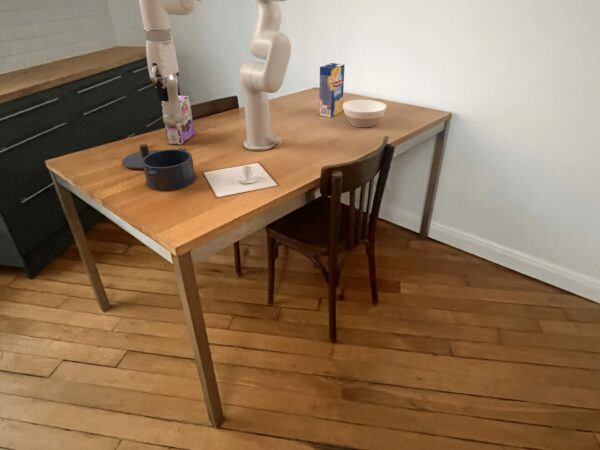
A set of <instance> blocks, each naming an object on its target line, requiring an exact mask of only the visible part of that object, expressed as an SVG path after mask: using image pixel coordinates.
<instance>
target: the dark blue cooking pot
mask: <svg viewBox="0 0 600 450" xmlns="http://www.w3.org/2000/svg"><path fill="white" fill-rule="evenodd" d="M193 160H194V159H193V155H192V153H191V152H189V151H188V150H187V149H186V148H178V149H176V148H172V149H171V148H170V149H162V150H161V151H157V152H154V153H151V154H149V155H147V156H146V157H144V158H143V160H142V164H143V168H144V169H143V173H144V177H145V181H146V185H147V187H148V188H150V189H152V190H154V191H157V192H172V191H177V190H180V189H185V188H186V187H189V186H190V185H192V184H193V183H194V182H195V180H196V173H195V167H194V161H193Z"/></svg>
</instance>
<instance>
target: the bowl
mask: <svg viewBox="0 0 600 450" xmlns="http://www.w3.org/2000/svg"><path fill="white" fill-rule="evenodd" d="M342 106H343V109H342V110H343V112H344V115H345V116H346V118H347V121H348V122H349V123H350V124H351V125H352V126H353V127H357V128H371V127H374V126H375V125H376V124H377V123H379V121H380V120H381V118H382V117H383V115H384V114H385V111H386V109H387V108H388V107H387V104H385V103H384V102H381V101H378V100H373V99H353V100H347V101H345V102H343V105H342Z"/></svg>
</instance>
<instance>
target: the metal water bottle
mask: <svg viewBox="0 0 600 450" xmlns="http://www.w3.org/2000/svg"><path fill="white" fill-rule="evenodd" d="M159 77H161V75H159ZM159 81H160V82H161V83H162V80H159ZM178 85H179V82H178V81H177V78H176V76H175V75H174V74H171V75H170V76H169V77H167V78H166V81H165V88H167V92H168V98H169V101H168V102H165V101H161V104H162V106H161V108H162V107H163V112H162V121H163V125H164V127H165V126H166V127H167V128H178V127H181V126H183V124H184V117H183V114H182V112H181V108H180V104H179V99H178Z"/></svg>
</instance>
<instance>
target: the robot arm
mask: <svg viewBox="0 0 600 450" xmlns="http://www.w3.org/2000/svg"><path fill="white" fill-rule="evenodd" d="M199 1H201V0H138V3H139V4H138V5H139V8H140V13H141V14H140V15H141V18H142V24H143V31H144V35H145V41H146V43H145V52H146V53H145V55H146V62H147V68H148V74H149V80H150V81H151V82H152V84H153V85H154V87H155V89H156V93H157V98H158V101H159V102H162V101H165V102H168V101H169V98H168V92H167V88H165V81H166V78H167V77H169V76H170V75H171V74H174V75H175V76H176V78H177V81H178V83H179V76H180V75H179V72H180V66H179V64H178V58H177V52H176V48H175V45H174V38H173V32H172V31H173V30H172V26H171V19H170V15H172V16H173V15H174V16H188V15H190V14H192V13H193V12H195V9H196V6H197V2H199ZM285 1H286V0H254V2H255V4H256V8H257V17H256V21H255V26H254V29H253V34H252V37H251V41H250V52H251V54H252V56H253V57H255V58H257V59H259V60H260V59H261V60H265V62H262V61H261V62H260V61H255V60H249V61H246V62H244V63H243V64H242V65H241V66H240V69H239V72H238V79H239V84H240V87H241V92H242V96H243V107H244V108H243V109H244V118H245V132H246V139H245V140H244V141H243V147H244V148H245V149H246V150H250V151H256V152H257V151H266V150H270V149H272V148H274V147H275V146H276V144H281V143H282V138H281V137H280V136H275V135H274V132H272V131H271V113H270V98H269V94H274V93H277V92H278V91H279V90H280V89H281V87H282V86H283V83H284V80H285V77H286V73H287V69H288V67H289V63H290V59H291V55H292V43H291V40H290V38H289V37H288V36H287V35H286V34H285V33H283V32H280V28H281V25H282V11H281V8H280V5H279V3H278V2H285ZM159 75H161V77H159ZM159 80H162V83H161V82H160V81H159ZM178 96H181V92H180V86H179V84H178Z"/></svg>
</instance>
